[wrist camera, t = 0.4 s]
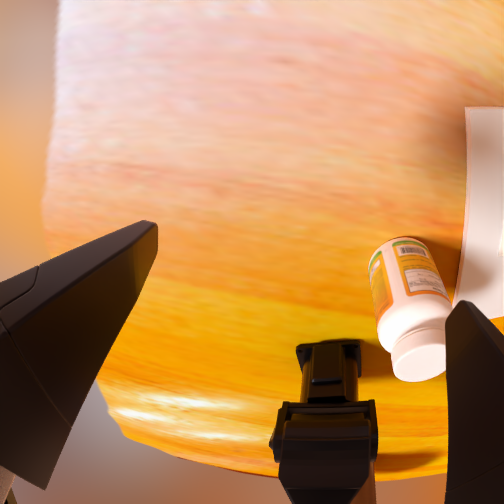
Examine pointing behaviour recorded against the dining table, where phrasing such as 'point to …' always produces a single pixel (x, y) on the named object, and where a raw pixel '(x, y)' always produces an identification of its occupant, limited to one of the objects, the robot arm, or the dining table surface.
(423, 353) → the supplement bottle
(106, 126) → the dining table surface
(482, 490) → the robot arm
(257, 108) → the dining table surface
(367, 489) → the plant pot
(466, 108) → the white flat board
